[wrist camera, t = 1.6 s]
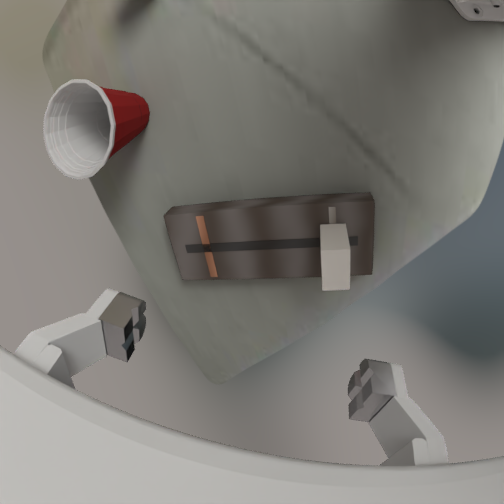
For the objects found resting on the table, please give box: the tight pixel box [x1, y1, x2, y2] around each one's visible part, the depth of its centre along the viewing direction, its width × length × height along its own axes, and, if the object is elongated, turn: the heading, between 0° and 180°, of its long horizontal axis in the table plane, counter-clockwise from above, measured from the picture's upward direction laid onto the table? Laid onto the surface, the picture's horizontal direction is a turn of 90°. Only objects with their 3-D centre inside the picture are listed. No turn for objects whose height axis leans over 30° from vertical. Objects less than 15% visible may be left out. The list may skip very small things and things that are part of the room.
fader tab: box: [320, 223, 350, 291], centre depth 34 cm, size 3×5×6 cm, turn 8°
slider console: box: [164, 192, 375, 280], centre depth 40 cm, size 26×10×3 cm, turn 99°
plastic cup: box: [43, 79, 150, 180], centre depth 31 cm, size 11×11×12 cm
